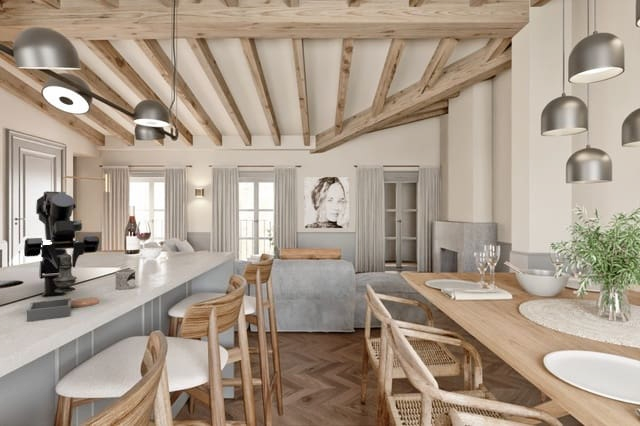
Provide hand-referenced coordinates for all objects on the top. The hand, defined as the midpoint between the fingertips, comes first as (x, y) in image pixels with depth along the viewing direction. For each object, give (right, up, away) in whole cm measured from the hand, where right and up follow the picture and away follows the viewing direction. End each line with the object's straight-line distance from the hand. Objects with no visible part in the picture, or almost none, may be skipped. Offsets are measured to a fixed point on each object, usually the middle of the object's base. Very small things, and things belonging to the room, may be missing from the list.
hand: (66, 267), depth 108 cm
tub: (-1, -13, -4) cm, 14 cm away
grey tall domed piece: (-1, -7, +1) cm, 8 cm away
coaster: (0, -13, +7) cm, 15 cm away
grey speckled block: (+1, -13, +33) cm, 35 cm away
